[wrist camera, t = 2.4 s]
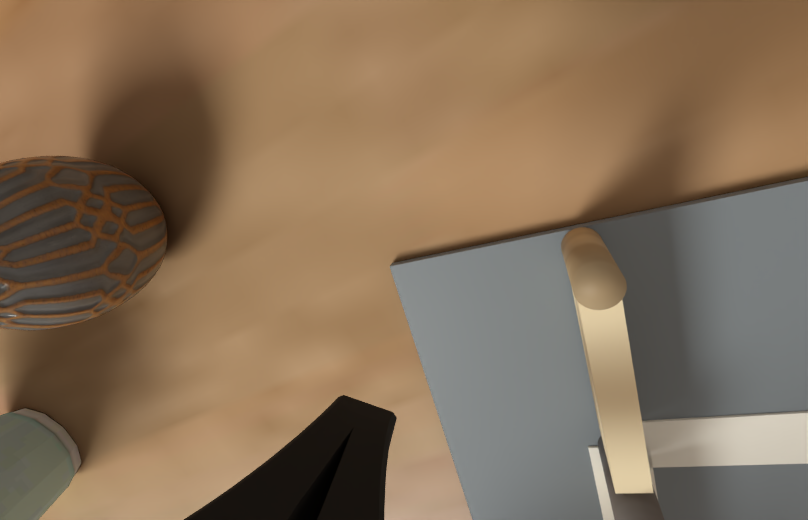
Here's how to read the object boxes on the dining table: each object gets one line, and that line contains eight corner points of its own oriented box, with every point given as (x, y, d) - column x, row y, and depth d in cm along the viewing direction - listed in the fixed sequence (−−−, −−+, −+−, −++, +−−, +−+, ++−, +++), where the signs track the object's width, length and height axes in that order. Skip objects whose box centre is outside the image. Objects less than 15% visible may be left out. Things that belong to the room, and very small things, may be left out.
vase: (131, 119, 19) (-150, 135, 11) (218, 251, 20) (25, 350, 12) (51, 187, 21) (-223, 241, 14) (133, 300, 23) (-71, 408, 15)
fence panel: (633, 426, 17) (661, 506, 14) (597, 428, 18) (615, 506, 14) (599, 223, 15) (622, 260, 11) (557, 231, 15) (568, 269, 12)
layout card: (955, 580, 17) (967, 594, 16) (489, 560, 23) (488, 570, 23) (1006, 135, 12) (1025, 137, 11) (392, 263, 18) (389, 267, 18)
